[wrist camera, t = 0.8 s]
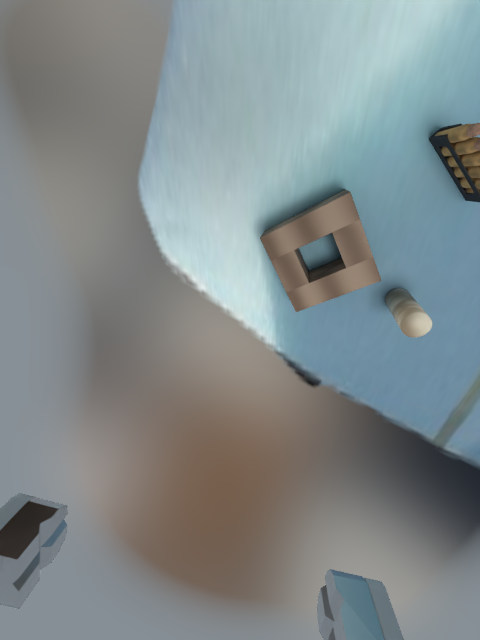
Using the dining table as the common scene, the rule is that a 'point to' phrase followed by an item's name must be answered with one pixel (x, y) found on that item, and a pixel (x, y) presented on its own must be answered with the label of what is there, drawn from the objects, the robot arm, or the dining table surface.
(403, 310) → the peg
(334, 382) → the dining table surface
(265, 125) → the dining table surface
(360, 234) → the socket block
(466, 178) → the ammunition clip
